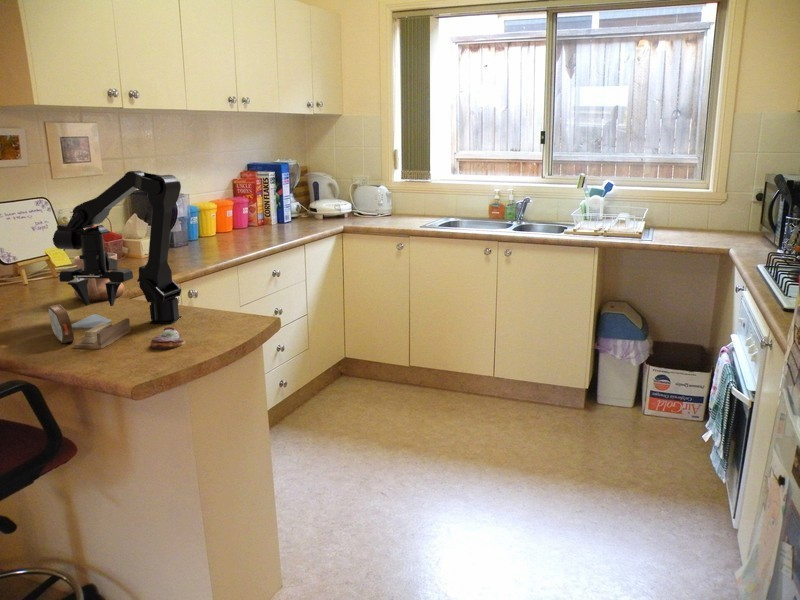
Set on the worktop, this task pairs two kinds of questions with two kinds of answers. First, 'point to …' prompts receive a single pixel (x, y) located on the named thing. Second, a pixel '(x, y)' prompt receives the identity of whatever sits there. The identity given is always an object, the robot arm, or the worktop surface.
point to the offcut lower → (89, 339)
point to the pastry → (167, 340)
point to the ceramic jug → (98, 283)
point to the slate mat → (90, 322)
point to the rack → (108, 335)
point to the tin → (61, 323)
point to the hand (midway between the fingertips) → (99, 305)
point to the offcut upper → (96, 329)
